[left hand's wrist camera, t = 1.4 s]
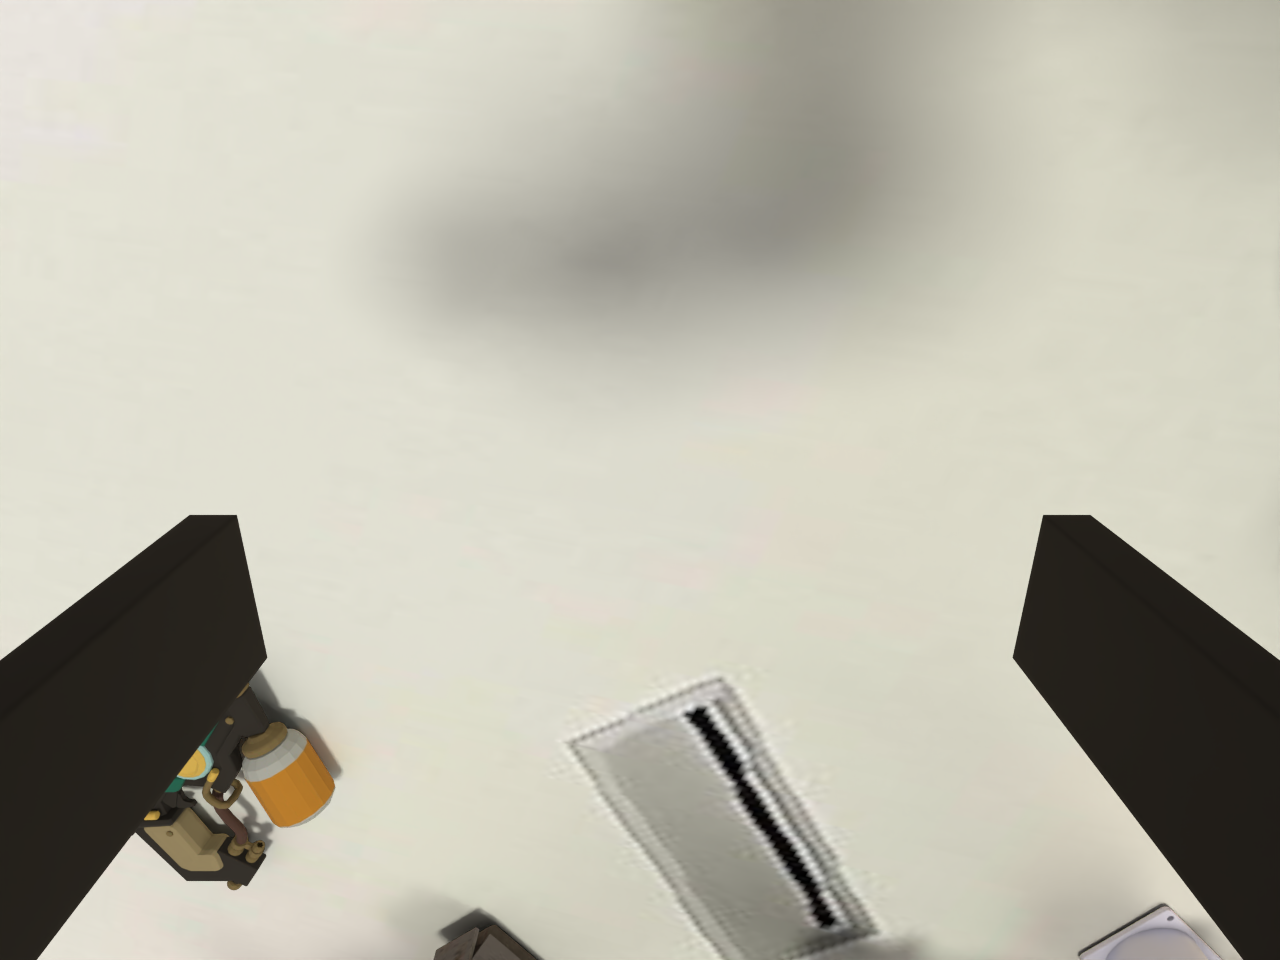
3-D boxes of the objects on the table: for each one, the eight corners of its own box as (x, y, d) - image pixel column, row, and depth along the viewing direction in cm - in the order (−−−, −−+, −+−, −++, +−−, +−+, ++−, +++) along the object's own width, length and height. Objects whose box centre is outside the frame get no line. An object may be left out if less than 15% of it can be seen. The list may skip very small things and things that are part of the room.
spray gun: (236, 875, 58) (68, 749, 54) (384, 771, 53) (212, 623, 49) (203, 927, 54) (20, 795, 50) (360, 819, 49) (170, 664, 45)
